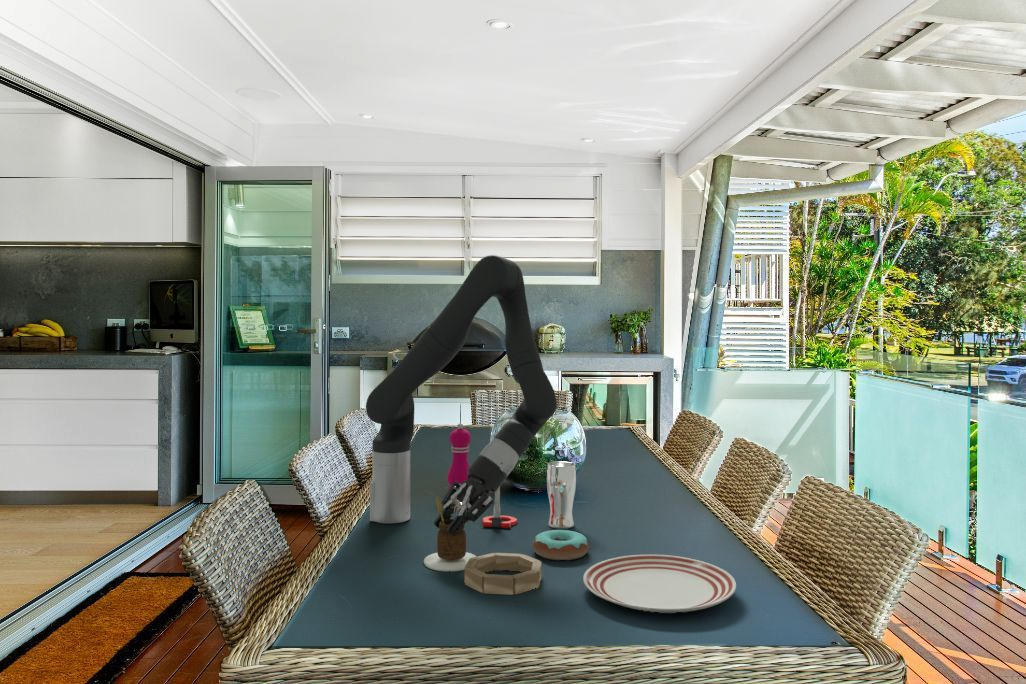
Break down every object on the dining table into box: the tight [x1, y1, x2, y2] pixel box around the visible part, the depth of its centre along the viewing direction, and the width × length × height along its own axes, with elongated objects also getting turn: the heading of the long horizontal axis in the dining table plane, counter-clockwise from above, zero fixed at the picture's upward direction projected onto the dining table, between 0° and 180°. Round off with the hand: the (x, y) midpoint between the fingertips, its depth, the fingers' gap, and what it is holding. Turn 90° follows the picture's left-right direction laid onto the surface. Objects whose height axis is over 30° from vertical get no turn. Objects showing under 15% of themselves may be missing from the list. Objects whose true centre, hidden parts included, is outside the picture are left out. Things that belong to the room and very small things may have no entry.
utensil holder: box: [435, 495, 467, 560], centre depth 155 cm, size 6×6×12 cm
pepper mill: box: [446, 423, 472, 490], centre depth 214 cm, size 7×7×20 cm
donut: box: [532, 529, 590, 561], centre depth 162 cm, size 12×12×4 cm
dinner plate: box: [582, 554, 737, 614], centre depth 139 cm, size 28×27×3 cm
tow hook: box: [482, 486, 518, 529], centre depth 184 cm, size 8×13×9 cm
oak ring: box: [463, 552, 543, 596], centre depth 145 cm, size 14×14×3 cm
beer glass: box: [546, 460, 577, 530], centre depth 182 cm, size 7×7×15 cm
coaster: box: [423, 551, 478, 572], centre depth 155 cm, size 11×11×1 cm
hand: (443, 529), depth 154 cm, fingers closed on utensil holder, 5 cm apart
